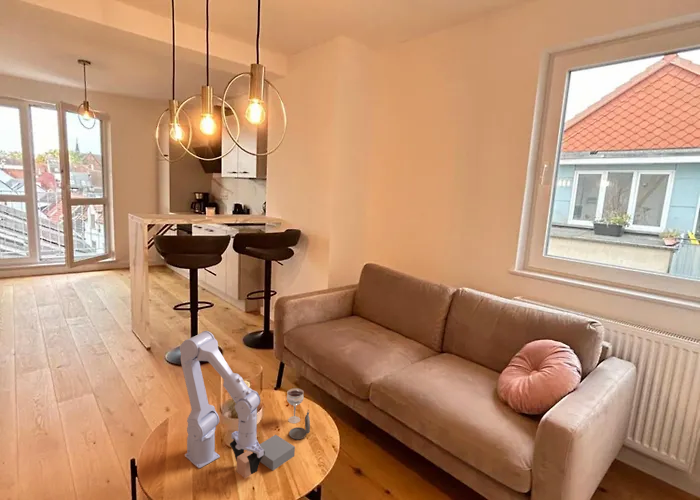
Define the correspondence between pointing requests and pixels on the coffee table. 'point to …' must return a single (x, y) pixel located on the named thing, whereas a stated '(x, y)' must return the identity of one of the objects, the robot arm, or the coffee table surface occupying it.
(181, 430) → the coffee table surface
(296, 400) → the wineglass
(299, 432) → the pocket watch
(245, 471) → the terracotta block
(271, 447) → the slate slab
